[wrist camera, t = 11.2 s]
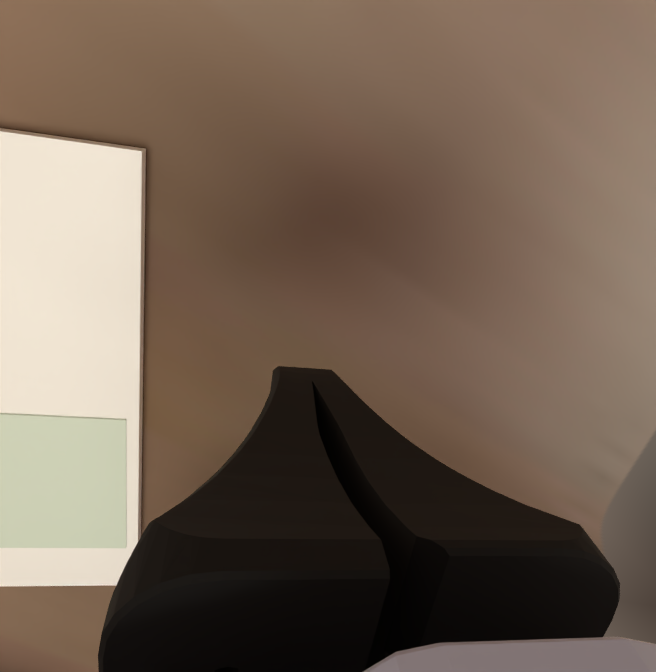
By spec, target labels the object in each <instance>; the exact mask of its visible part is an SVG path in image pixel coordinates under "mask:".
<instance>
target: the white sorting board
mask: <svg viewBox="0 0 656 672" xmlns="http://www.w3.org/2000/svg"><path fill="white" fill-rule="evenodd" d="M145 185H146V149H145V148H138V147H131V146H124V145H117V144H110V143H103V142H96V141H89V140H82V139H75V138H68V137H61V136H54V135H47V134H40V133H33V132H25V131H18V130H11V129H4V128H0V586H95V585H117V583H118V581H119V578H120V576H121V574H122V572H123V570H124V567H125V565H126V563H127V561H128V559H129V558H130V556H131V554H132V552H133V550H134V548H135V546H136V545H137V543H138V541H139V540H140V538H141V491H142V414H143V338H144V262H145Z"/></svg>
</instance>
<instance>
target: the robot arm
mask: <svg viewBox="0 0 656 672" xmlns="http://www.w3.org/2000/svg"><path fill="white" fill-rule="evenodd" d="M619 596H620V583H619V580H618V578H617V576H616V573H615V571H614V569H613V568H612V566H611V565H610V564H609V562H608V561H607V560H606V558H605V557H604V556H603V554H602V553H601V552H600V550H599V549H598V548H597V546H596V545H595V544H594V543H593V541H592V540H591V539H590V537H589V536H588V535H587V533H586V532H585V531H584V529H583V528H582V527H581V526H580V525H579V524H576V523H574V522H571V521H568V520H565V519H563V518H560V517H557V516H554V515H552V514H549V513H546V512H543V511H541V510H538V509H535V508H532V507H530V506H527V505H524V504H522V503H520V502H517V501H515V500H513V499H511V498H508V497H506V496H504V495H502V494H499V493H497V492H495V491H493V490H491V489H489V488H487V487H485V486H483V485H481V484H479V483H476V482H475V481H473V480H471V479H469V478H467V477H465V476H464V475H462V474H460V473H458V472H456V471H455V470H453V469H451V468H449V467H448V466H446V465H444V464H443V463H441V462H439V461H438V460H436V459H435V458H433V457H432V456H430V455H429V454H427V453H426V452H424V451H423V450H421V449H420V448H418V447H417V446H415V445H414V444H413V443H411V442H410V441H409V440H407V439H406V438H405V437H403V436H402V435H401V434H400V433H398V432H397V431H396V430H395V429H394V428H392V427H391V426H390V425H389V424H387V423H386V422H385V421H384V420H383V419H382V418H381V417H379V416H378V415H377V414H376V413H375V412H374V411H373V410H372V409H371V408H370V407H369V406H367V405H366V404H365V403H364V402H363V401H362V400H361V399H360V398H359V397H358V396H357V395H356V394H355V393H354V392H353V391H352V390H351V389H350V388H349V387H348V386H347V385H346V384H345V383H344V382H343V381H342V380H341V379H340V378H339V377H338V376H337V375H336V374H335V373H334V372H333V371H332V370H326V369H311V368H297V367H282V366H278V367H277V368H276V369H274V370H273V375H272V383H271V391H270V394H269V397H268V399H267V401H266V403H265V406H264V408H263V410H262V412H261V414H260V416H259V417H258V419H257V421H256V422H255V424H254V426H253V428H252V429H251V431H250V432H249V434H248V435H247V437H246V438H245V440H244V441H243V442H242V444H241V445H240V446H239V448H238V449H237V450H236V451H235V453H234V454H233V455H232V456H231V457H230V458H229V459H228V461H227V462H226V463H225V464H224V465H223V466H222V467H221V468H220V469H219V470H218V471H217V472H216V473H215V474H214V475H213V476H212V477H211V478H210V479H209V480H208V481H207V482H205V483H204V484H203V485H202V486H201V487H200V488H198V489H197V490H196V491H195V492H194V493H193V494H191V495H190V496H189V497H188V498H186V499H185V500H184V501H183V502H181V503H180V504H178V505H177V506H175V507H174V508H172V509H171V510H169V511H168V512H166V513H164V514H163V515H161V516H160V517H158V518H156V519H154V520H153V521H151V522H150V523H149V524H148V526H147V528H146V529H145V531H144V533H143V534H142V536H141V538H140V540H139V541H138V543H137V545H136V546H135V548H134V550H133V552H132V554H131V556H130V558H129V559H128V561H127V563H126V565H125V567H124V570H123V572H122V574H121V576H120V578H119V581H118V583H117V586H116V588H115V590H114V593H113V595H112V598H111V601H110V604H109V607H108V611H107V615H106V619H105V623H104V627H103V631H102V635H101V641H100V647H99V653H98V663H99V672H656V644H653V643H648V642H643V641H638V640H632V639H628V638H622V637H603V636H604V634H605V632H606V630H607V628H608V627H609V625H610V623H611V621H612V619H613V616H614V614H615V611H616V608H617V606H618V602H619Z"/></svg>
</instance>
